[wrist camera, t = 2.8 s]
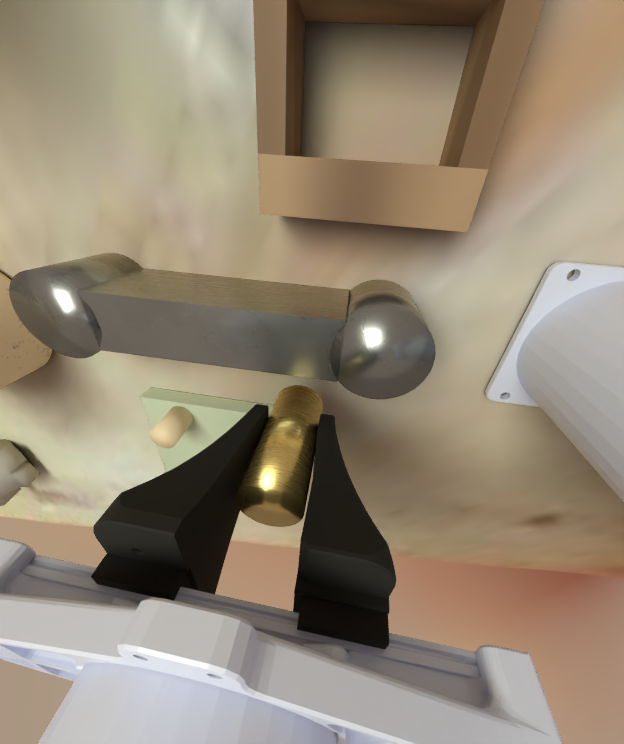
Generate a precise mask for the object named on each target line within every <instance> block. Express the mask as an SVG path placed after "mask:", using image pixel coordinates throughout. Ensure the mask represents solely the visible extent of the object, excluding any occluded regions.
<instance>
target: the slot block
mask: <svg viewBox="0 0 624 744" xmlns="http://www.w3.org/2000/svg"><path fill="white" fill-rule="evenodd" d="M544 3H545V0H253V7H254V40H255V72H256V105H257V137H258V170H259V203H260V214H265V215H277V216H288V217H299V218H311V219H322V220H333V221H345V222H356V223H368V224H379V225H390V226H402V227H413V228H425V229H436V230H447V231H459V232H468V229H469V226H470V223H471V220H472V218H473V215H474V212H475V209H476V206H477V203H478V200H479V197H480V194H481V191H482V188H483V185H484V182H485V179H486V176H487V173H488V170H489V167H490V164H491V161H492V158H493V155H494V152H495V149H496V146H497V143H498V140H499V137H500V134H501V131H502V128H503V125H504V122H505V119H506V116H507V113H508V110H509V107H510V104H511V101H512V98H513V95H514V92H515V89H516V86H517V83H518V80H519V77H520V74H521V71H522V68H523V65H524V62H525V60H526V57H527V54H528V51H529V48H530V45H531V42H532V39H533V36H534V33H535V30H536V27H537V24H538V21H539V18H540V15H541V12H542V9H543V6H544ZM305 21H308V22H345V23H383V24H421V25H458V26H475V27H474V31H473V35H472V39H471V43H470V47H469V51H468V54H467V58H466V62H465V66H464V70H463V74H462V78H461V82H460V86H459V90H458V94H457V98H456V101H455V105H454V109H453V113H452V117H451V121H450V125H449V129H448V133H447V137H446V141H445V145H444V149H443V152H442V156H441V160H440V164H439V166H431V165H416V164H402V163H387V162H373V161H358V160H344V159H329V158H315V157H300V153H301V125H302V97H303V68H304V40H305Z"/></svg>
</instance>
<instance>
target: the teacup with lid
mask: <svg viewBox="0 0 624 744" xmlns="http://www.w3.org/2000/svg"><path fill="white" fill-rule="evenodd" d="M10 282H11V280H10V279H9V278H8V277H6V276H5V275H4V274H2V273H1V272H0V389H1V388H3V387H5V386H7V385H9V384H10V383H12V382H14V381H16V380H18V379H20V378H22V377H24V376H26V375H27V374H29V373H31V372H33V371H35V370H37V369H39V368H41V367H42V366H43V365H45V364H46V363H47V362H48V360H49V359H50V357H51V354H52V349H51V348H49V347H47V346H46V345H44V344H43V343H42V342H40V341H39V340H38V339H37V338H36V337H35V336H33V335H32V334H31V333H30V332H29V331H28V329H27V328H26V327H25V326H24V325H23V323H22V322H21V321H20V319H19V318H18V316H17V314H16V313H15V311H14V308H13V306H12V303H11V300H10V296H9V286H10Z"/></svg>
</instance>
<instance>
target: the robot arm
mask: <svg viewBox="0 0 624 744" xmlns="http://www.w3.org/2000/svg"><path fill="white" fill-rule="evenodd" d="M572 270H575V273H574V275H573V276H572V277H570V278H568V279H567V274H568V273H569V272H570V271H572ZM506 392H507V393H506ZM503 393H506V394H505V395H502V396H500V395H501V394H503ZM485 395H486V397H487V398H488V399H489V400H491V401H497V402H504V403H512V404H519V405H526V406H534V407H541V408H542V409H543V411H544V412H545V413H546V414H547V415H548V416H549V418H550V419H551V420H552V421H553V422H554V423H555V424H556V426H557V427H558V428H559V429H560V430H561V431H562V432H563V434H564V435H565V436H566V437H567V438H568V439H569V441H570V442H571V443H572V444H573V445H574V446H575V447H576V449H577V450H578V451H579V452H580V453H581V454H582V456H583V457H584V458H585V459H586V460H587V461H588V462H589V464H590V465H591V466H592V467H593V468H594V469H595V470H596V472H597V473H598V474H599V475H600V476H601V477H602V479H603V480H604V481H605V482H606V483H607V484H608V485H609V487H610V488H611V489H612V490H613V491H614V492H615V493H616V495H617V496H618V497H619V498H620V499H621V500H622V502H623V503H624V267H620V266H610V265H599V264H588V263H578V262H567V261H560V262H556V263H554V264H552V265H551V266H550V267H549V268H548V269H547V271H546V272H545V274H544V276H543V278H542V280H541V282H540V284H539V286H538V288H537V290H536V292H535V294H534V296H533V298H532V300H531V302H530V304H529V306H528V308H527V310H526V312H525V314H524V316H523V318H522V320H521V322H520V324H519V325H518V327H517V329H516V331H515V333H514V335H513V337H512V339H511V341H510V343H509V345H508V347H507V349H506V351H505V353H504V355H503V357H502V359H501V361H500V363H499V365H498V367H497V369H496V371H495V373H494V375H493V377H492V378H491V380H490V382H489V384H488V386H487V388H486V390H485ZM268 418H269V406H267V405H261V404H256V405H255V406H254V407H253V408H252V409H251V410H250V411H248V412H247V413H246V414H245V415H244V416H243V417H242V418H241V419H240V420H239V421H238V422H237V423H236V424H235V425H234V426H232V427H231V428H230V429H229V430H228V431H227V432H226V433H224V434H223V435H222V436H221V437H219V438H218V439H217V440H216V441H215V442H213V443H212V444H211V445H209V446H208V447H207V448H205V449H204V450H202V451H201V452H199V453H198V454H196V455H195V456H193V457H192V458H190V459H189V460H187V461H185V462H184V463H182V464H180V465H179V466H177V467H175V468H173V469H172V470H170V471H168V472H166V473H164V474H162V475H160V476H158V477H156V478H154V479H152V480H150V481H148V482H145V483H143V484H141V485H138V486H136V487H134V488H131V489H129V490H127V491H124V492H122V493H121V494H120V495H119V496H118V497H117V498H116V499H115V500H114V501H113V503H112V504H111V505H110V506H109V508H108V509H107V510H106V511H105V513H104V514H103V515H102V516H101V518H100V519H99V520H98V521H97V523H96V524H95V525H94V534H95V536H96V538H97V539H98V541H99V542H100V544H101V545H102V547H103V548H104V549H105V551H106V552H107V554H106V556H105V557H104V558H103V560H102V561H101V563H100V564H99V565H98V567H97V568H94V567H89V566H85V565H80V564H76V563H71V562H67V561H63V560H58V559H54V558H49V557H44V556H40V555H36V553H35V551H34V550H33V549H32V548H31V547H29V546H28V545H26V544H24V543H21V542H17V541H13V540H8V539H4V538H0V659H2V660H6V661H9V662H12V663H15V664H19V665H22V666H25V667H29V668H32V669H36V670H38V671H42V672H45V673H48V674H52V675H55V676H58V677H61V678H65V679H68V680H71V681H74V683H73V685H72V687H71V689H70V690H69V692H68V694H67V695H66V697H65V699H64V700H63V702H62V704H61V706H60V707H59V709H58V710H57V712H56V714H55V716H54V717H53V719H52V721H51V722H50V724H49V726H48V728H47V729H46V731H45V732H44V734H43V736H42V738H41V739H40V741H39V743H38V744H563V743H562V740H561V738H560V735H559V732H558V729H557V727H556V724H555V721H554V718H553V716H552V713H551V710H550V708H549V705H548V702H547V700H546V697H545V694H544V691H543V689H542V686H541V683H540V681H539V678H538V676H537V672H536V670H535V667H534V664H533V662H532V659H531V656H530V655H528V654H527V653H526V652H521V651H517V650H512V649H508V648H503V647H498V646H493V645H483V646H480V647H479V648H478V649H477V650H476V652H473V651H468V650H464V649H459V648H455V647H450V646H446V645H441V644H437V643H432V642H428V641H423V640H419V639H414V638H409V637H405V636H400V635H396V634H392V633H389V628H388V613H389V596H390V594H391V592H392V590H393V589H394V587H395V584H396V575H395V570H394V565H393V561H392V557H391V554H390V550H389V547H388V544H387V542H386V541H385V539H384V538H383V536H382V535H381V534H380V532H379V530H378V529H377V527H376V526H375V524H374V523H373V521H372V519H371V518H370V516H369V514H368V513H367V511H366V509H365V507H364V505H363V504H362V502H361V500H360V498H359V496H358V494H357V492H356V490H355V488H354V486H353V484H352V481H351V479H350V477H349V474H348V472H347V469H346V466H345V464H344V461H343V458H342V454H341V451H340V447H339V444H338V439H337V435H336V429H335V417H334V416H332V415H326V414H320V419H319V423H318V432H317V441H316V450H315V460H314V472H313V481H312V486H311V492H310V497H309V502H308V507H307V512H306V517H305V522H304V527H303V532H302V536H301V544H300V555H299V567H298V574H297V580H296V586H295V592H294V594H295V597H294V609H293V612H292V611H288V610H283V609H279V608H275V607H270V606H265V605H261V604H256V603H252V602H247V601H243V600H238V599H234V598H229V597H225V596H220V595H216V594H215V592H216V588H217V584H218V581H219V578H220V574H221V570H222V567H223V563H224V560H225V556H226V553H227V550H228V546H229V543H230V540H231V537H232V534H233V530H234V527H235V524H236V521H237V518H238V515H239V512H240V509H239V507H238V506H237V503H236V495H237V492H238V490H239V487H240V485H241V483H242V480H243V478H244V476H245V473H246V471H247V468H248V466H249V464H250V461H251V459H252V456H253V454H254V452H255V449H256V447H257V445H258V442H259V440H260V437H261V435H262V433H263V430H264V428H265V425H266V423H267V421H268Z"/></svg>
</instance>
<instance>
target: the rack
mask: <svg viewBox="0 0 624 744" xmlns="http://www.w3.org/2000/svg"><path fill="white" fill-rule="evenodd" d="M140 399H141V401H142V404H143V407H144V410H145V413H146V416H147V419H148V422H149V425H150V428H151V432H150V438H151V440H152V441H153V442H154V443H155V444H156V445H157V448H158V451H159V454H160V457H161V460H162V463H163V466H164V468H165V471H166V472H168V471H170V470H172V469H173V468H175V467H177V466H179V465H180V464H182V463H184V462H185V461H187V460H189V459H190V458H192V457H193V456H195V455H196V454H198V453H199V452H201V451H202V450H204V449H205V448H207V447H208V446H209V445H211V444H212V443H213V442H215V441H216V440H217V439H218V438H219V437H221V436H222V435H223V434H224V433H226V432H227V431H228V430H229V429H230V428H231V427H232V426H234V425H235V424H236V423H237V422H238V421H239V420H240V419H241V418H242V417H243V416H244V415H245V414H246V413H247V412H248V411H250V410H251V409H252V408H253V407H254V406H255V405H256V404H260V403H253V402H246V401H239V400H233V399H226V398H219V397H212V396H206V395H199V394H192V393H185V392H178V391H172V390H165V389H158V388H151V387H150V388H149V389H148V390H147V391H146V392H145V393H144V394H142V395H141V396H140ZM261 405H266V404H261ZM267 406H269V416H270V414H271V411H272V409H273V405H267Z"/></svg>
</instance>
